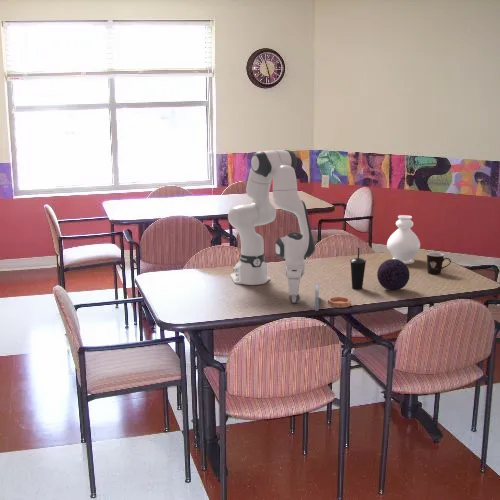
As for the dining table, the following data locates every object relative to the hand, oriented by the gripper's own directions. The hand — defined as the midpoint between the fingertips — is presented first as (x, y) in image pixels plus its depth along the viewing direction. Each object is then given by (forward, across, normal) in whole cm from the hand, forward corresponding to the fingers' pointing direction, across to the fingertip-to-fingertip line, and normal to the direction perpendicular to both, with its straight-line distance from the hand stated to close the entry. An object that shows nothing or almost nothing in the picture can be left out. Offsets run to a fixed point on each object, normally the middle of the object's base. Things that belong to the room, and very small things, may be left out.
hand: (294, 299), depth 314 cm
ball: (-1, 0, 0) cm, 1 cm away
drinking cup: (+2, -26, +29) cm, 39 cm away
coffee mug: (+2, -56, +71) cm, 90 cm away
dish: (+2, 0, +20) cm, 20 cm away
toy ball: (+2, -24, +46) cm, 52 cm away
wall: (+2, 0, +10) cm, 10 cm away
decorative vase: (+2, -81, +57) cm, 99 cm away
